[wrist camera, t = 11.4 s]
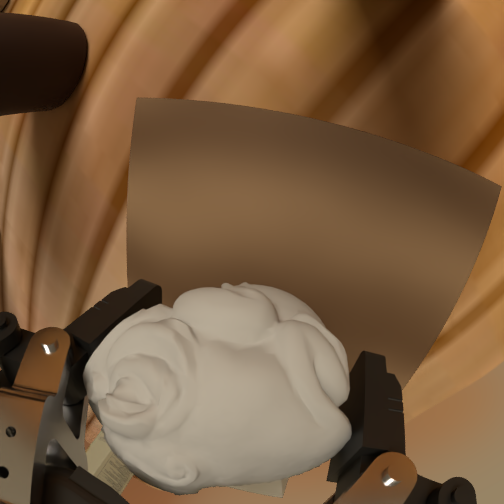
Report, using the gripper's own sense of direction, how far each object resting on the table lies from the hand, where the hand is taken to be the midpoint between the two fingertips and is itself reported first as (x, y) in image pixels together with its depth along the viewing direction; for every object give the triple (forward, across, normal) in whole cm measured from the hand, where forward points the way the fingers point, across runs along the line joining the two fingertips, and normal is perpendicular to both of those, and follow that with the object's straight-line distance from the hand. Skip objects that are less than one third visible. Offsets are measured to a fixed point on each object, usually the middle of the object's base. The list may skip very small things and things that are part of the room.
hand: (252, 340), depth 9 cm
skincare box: (+6, +15, +34) cm, 38 cm away
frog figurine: (+2, 0, 0) cm, 2 cm away
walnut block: (+6, 0, 0) cm, 6 cm away
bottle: (+6, +18, -10) cm, 21 cm away
